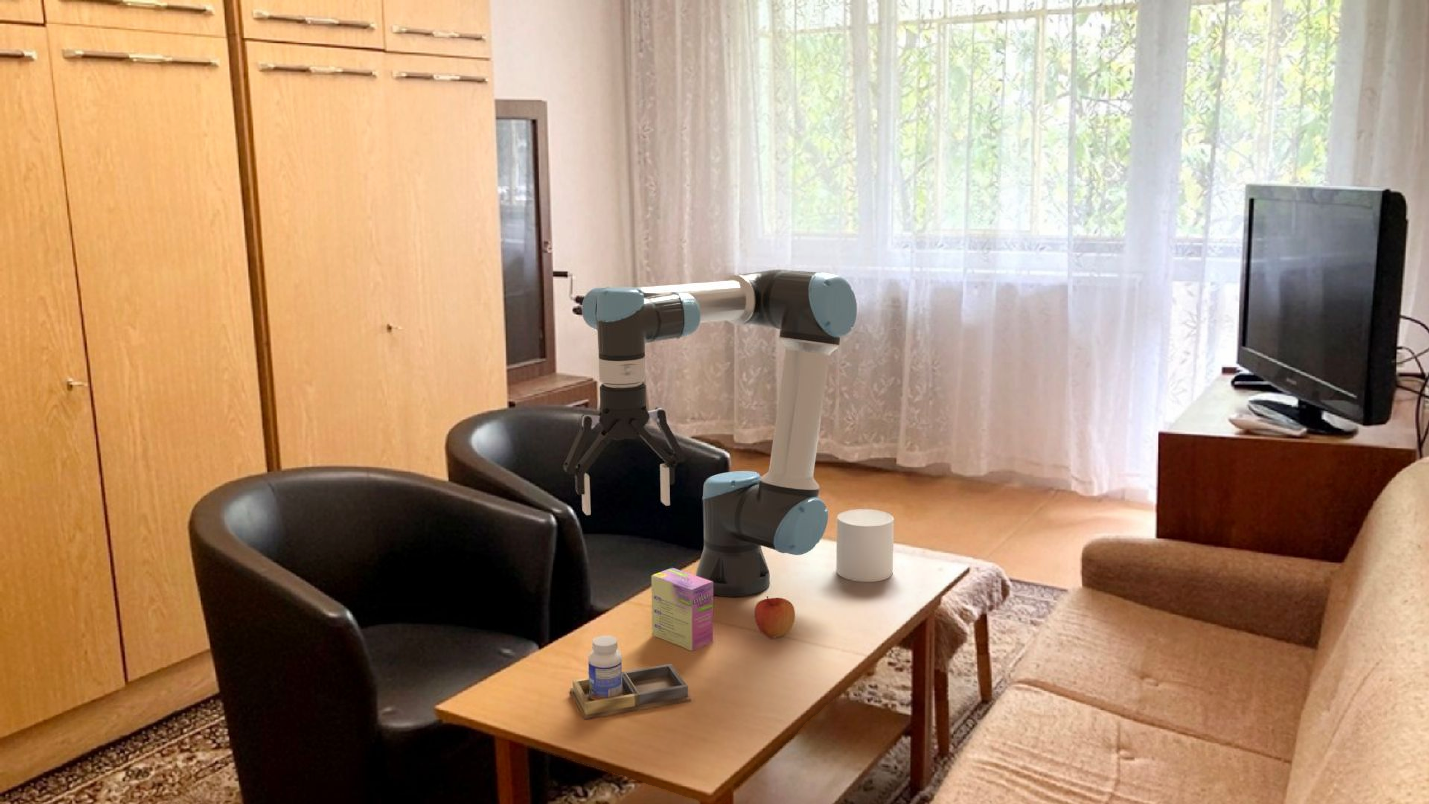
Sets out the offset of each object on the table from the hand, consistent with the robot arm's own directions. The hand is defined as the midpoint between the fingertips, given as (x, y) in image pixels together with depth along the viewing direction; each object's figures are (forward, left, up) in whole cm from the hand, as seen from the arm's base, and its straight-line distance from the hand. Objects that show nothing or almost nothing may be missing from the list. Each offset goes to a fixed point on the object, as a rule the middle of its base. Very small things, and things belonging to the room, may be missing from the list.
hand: (626, 508), depth 190 cm
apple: (-3, +28, -29) cm, 40 cm away
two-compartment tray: (+10, -3, -29) cm, 31 cm away
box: (-8, +12, -29) cm, 32 cm away
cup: (-26, +58, -29) cm, 70 cm away
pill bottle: (+10, -7, -28) cm, 31 cm away
